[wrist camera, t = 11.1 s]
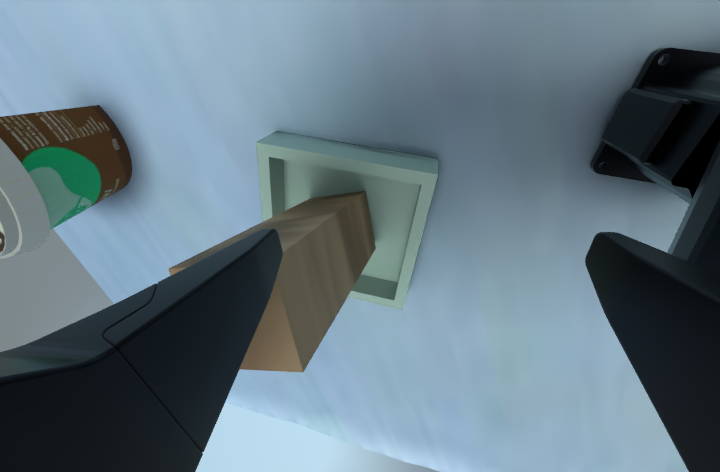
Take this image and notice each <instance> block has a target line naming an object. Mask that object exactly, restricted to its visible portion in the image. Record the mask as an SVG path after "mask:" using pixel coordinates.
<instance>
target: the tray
mask: <svg viewBox="0 0 720 472" xmlns="http://www.w3.org/2000/svg"><path fill="white" fill-rule="evenodd" d="M256 149H257V160H258V172H259V183H260V195H261V207H262V218H263V222H264V221H266V220H268V219H270V218H272V217H274V216H276V215H278V214H280V213H282V212H284V211H286V210H288V209H290V208H292V207H294V206H296V205H298V204H300V203H302V202H304V201H306V200H308V199H310V198H317V197H324V196H331V195H338V194H345V193H352V192H359V191H366V195H367V201H368V206H369V212H370V218H371V223H372V229H373V235H374V241H375V246H376V249H375V251H374V253H373V254H372V256H371V258H370V259H369V261H368V263H367V265H366V266H365V268H364V270H363V271H362V273H361V275H360V276H359V278H358V280H357V281H356V283H355V285H354V287H353V288H352V290H351V292H350V293H349V295H348V297H349V298H354V299H358V300H362V301H367V302H371V303H375V304H379V305H384V306H388V307H392V308H397V309H401V310H403V306H404V302H405V298H406V295H407V291H408V287H409V283H410V279H411V276H412V272H413V268H414V264H415V261H416V257H417V253H418V249H419V245H420V242H421V238H422V234H423V230H424V227H425V223H426V219H427V215H428V211H429V208H430V204H431V200H432V196H433V192H434V189H435V185H436V181H437V177H438V159H436V158H430V157H424V156H418V155H412V154H407V153H401V152H395V151H389V150H383V149H377V148H372V147H366V146H360V145H354V144H348V143H342V142H337V141H331V140H325V139H319V138H313V137H307V136H302V135H296V134H290V133H284V132H278V131H276V132H274V133H272V134H270V135H269V136H267V137H265V138H263V139H261V140H260V141H258V142H256Z"/></svg>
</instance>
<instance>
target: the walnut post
mask: <svg viewBox="0 0 720 472" xmlns="http://www.w3.org/2000/svg"><path fill="white" fill-rule="evenodd" d="M263 228H273V229H276V230H277V232H278V235H279V239H280V242H281V246H282V250H283V256H282V260H281V264H280V267H279V270H278V274H277V277H276V280H275V284H274V287H273V290H272V293H271V296H270V299H269V302H268V304H267V306H266V309H265V311H264V313H263V316H262V318H261V320H260V323H259V325H258V327H257V329H256V332H255V334H254V336H253V339H252V341H251V343H250V346H249V348H248V350H247V353H246V355H245V357H244V360H243V362H242V364H241V366H240V369H246V370H267V371H288V372H303V371H304V370H305V368H306V366H307V365H308V363H309V361H310V360H311V358H312V356H313V354H314V353H315V351H316V349H317V348H318V346H319V344H320V343H321V341H322V339H323V337H324V336H325V334H326V332H327V331H328V329H329V327H330V326H331V324H332V322H333V320H334V319H335V317H336V315H337V314H338V312H339V310H340V309H341V307H342V305H343V304H344V302H345V300H346V298H347V297H348V295H349V293H350V292H351V290H352V288H353V287H354V285H355V283H356V281H357V280H358V278H359V276H360V275H361V273H362V271H363V270H364V268H365V266H366V265H367V263H368V261H369V259H370V258H371V256H372V254H373V253H374V251H375V249H376V246H375V241H374V235H373V229H372V223H371V218H370V212H369V206H368V201H367V195H366V191H359V192H352V193H345V194H338V195H331V196H324V197H317V198H310V199H308V200H306V201H304V202H302V203H300V204H298V205H296V206H294V207H292V208H290V209H288V210H286V211H284V212H282V213H280V214H278V215H276V216H274V217H272V218H270V219H268V220H266V221H264V222H262V223H260V224H258V225H256V226H254V227H252V228H250V229H248V230H246V231H244V232H242V233H240V234H238V235H236V236H234V237H232V238H230V239H228V240H226V241H224V242H222V243H220V244H218V245H216V246H214V247H212V248H210V249H208V250H206V251H204V252H201V253H199V254H197V255H195V256H193V257H191V258H189V259H187V260H185V261H183V262H181V263H179V264H177V265H175V266H173V267H171V268H169V272H170V274H171V275H173V274H175V273H177V272H179V271H181V270H183V269H185V268H187V267H189V266H191V265H193V264H195V263H197V262H199V261H200V260H202V259H204V258H206V257H208V256H210V255H212V254H214V253H216V252H218V251H220V250H222V249H224V248H226V247H228V246H230V245H231V244H233V243H235V242H237V241H239V240H241V239H243V238H245V237H247V236H249V235H251V234H253V233H255V232H257V231H259V230H261V229H263Z"/></svg>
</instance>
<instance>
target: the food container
mask: <svg viewBox="0 0 720 472" xmlns="http://www.w3.org/2000/svg"><path fill="white" fill-rule="evenodd" d="M131 173H132V164H131V158H130V154H129V151H128V148H127V145H126V143H125V141H124V139H123V137H122V135H121V133H120V132H119V130H118V128H117V127H116V125H115V124H114V123H113V121H112V120H111V119H110V117H109V116H108V115H107V114H106V113H105V111H104V110H103V109H102V108H101V107H100V106H99V105H96V106H88V107H80V108H71V109H63V110H55V111H46V112H38V113H29V114H21V115H13V116H4V117H0V258H8V257H11V256H15V255H18V254H21V253H24V252H28V251H31V250H34V249H36V248H38V247H40V246H42V245H43V244H44V243H45V242H46V240H47V238H48V236H49V230H51V229H52V228H54V227H56V226H58V225H59V224H61V223H63V222H65V221H66V220H68V219H70V218H72V217H73V216H75V215H77V214H79V213H80V212H82V211H84V210H86V209H87V208H89V207H91V206H93V205H94V204H96V203H98V202H100V201H101V200H103V199H105V198H107V197H109V196H110V195H112V194H114V193H116V192H117V191H119V190H121V189H123V188H124V187H125V186H126V185H127V184H128V182H129V181H130V177H131Z"/></svg>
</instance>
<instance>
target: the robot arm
mask: <svg viewBox="0 0 720 472" xmlns="http://www.w3.org/2000/svg"><path fill="white" fill-rule="evenodd" d="M664 54H665V55H666V59H665V61H664V62H663V63H662V64H660V65H659V64H658V60H659V58H660V57H661V56H662V55H664ZM602 139H603V142H602V144H601V146H600V147H599V149H598V151H597V153H596V155H595V157H594V158H593V160H592V162H591V165H590V166H591V169H592V170H593V171H594V172H595V173H598V174H603V175H609V176H615V177H621V178H627V179H633V180H639V181H645V182H651V183H657V184H659V185H661V186H662V187H664V188H665V189H667V190H668V191H670V192H672V193H673V194H675V195H676V196H678V197H679V198H681V199H683V200H684V201H686V202H687V203H689V204H690V205H689V207H688V209H687V212H686V214H685V216H684V218H683V220H682V222H681V225H680V227H679V229H678V231H677V233H676V235H675V238H674V240H673V242H672V244H671V246H670V248H669V251H668V253H666V252H664V251H661V250H659V249H656V248H654V247H651V246H649V245H647V244H644V243H642V242H639V241H637V240H634V239H632V238H629V237H627V236H624V235H622V234H619V233H615V232H600V233H598V234H596V236H595V237H594V239H593V242H592V244H591V246H590V249H589V251H588V253H587V256H586V260H585V263H586V267H587V270H588V272H589V275H590V278H591V280H592V283H593V285H594V288H595V290H596V293H597V296H598V298H599V301H600V303H601V306H602V308H603V310H604V313H605V315H606V317H607V319H608V321H609V323H610V325H611V327H612V329H613V330H614V332H615V334H616V336H617V338H618V340H619V342H620V344H621V345H622V347H623V349H624V351H625V353H626V355H627V357H628V359H629V360H630V362H631V364H632V366H633V368H634V370H635V372H636V374H637V375H638V377H639V379H640V381H641V383H642V385H643V387H644V389H645V390H646V392H647V394H648V396H649V398H650V400H651V402H652V404H653V405H654V407H655V409H656V411H657V413H658V415H659V417H660V419H661V420H662V422H663V424H664V426H665V428H666V430H667V432H668V434H669V435H670V437H671V439H672V441H673V443H674V445H675V447H676V449H677V450H678V452H679V454H680V456H681V458H682V460H683V462H684V464H685V465H686V467H687V469H688V471H689V472H720V54H719V53H711V52H702V51H694V50H685V49H677V48H660V49H658V50H656V51H655V52H654V53H652V54H651V56H650V57H649V58H648V60H647V62H646V64H645V66H644V68H643V69H642V71H641V73H640V75H639V77H638V78H637V80H636V82H635V84H634V86H633V88H632V89H631V90H629V91H628V92H626V94H625V96H624V97H623V99H622V101H621V103H620V105H619V107H618V108H617V110H616V112H615V114H614V116H613V118H612V120H611V121H610V123H609V125H608V127H607V129H606V131H605V132H604V134H603V136H602ZM602 162H605V165H604V166H603V167H600V168H598V165H599V164H600V163H602ZM282 256H283V250H282V246H281V242H280V239H279V235H278V232H277V230H276V229H273V228H263V229H261V230H259V231H257V232H255V233H253V234H251V235H249V236H247V237H245V238H243V239H241V240H239V241H237V242H235V243H233V244H231V245H230V246H228V247H226V248H224V249H222V250H220V251H218V252H216V253H214V254H212V255H210V256H208V257H206V258H204V259H202V260H200V261H199V262H197V263H195V264H193V265H191V266H189V267H187V268H185V269H183V270H181V271H179V272H177V273H175V274H173V275H171V276H169V277H167V278H166V279H164V280H162V281H160V282H158V284H154V285H152V286H150V287H148V288H146V289H144V290H142V291H140V292H138V293H136V294H134V295H132V296H130V297H128V298H126V299H124V300H122V301H120V302H118V303H116V304H114V305H112V306H109V307H107V308H105V309H103V310H101V311H99V312H97V313H95V314H92V315H90V316H88V317H86V318H84V319H81V320H79V321H77V322H75V323H73V324H70V325H68V326H66V327H64V328H62V329H60V330H57V331H55V332H53V333H51V334H49V335H46V336H44V337H42V338H40V339H38V340H35V341H33V342H31V343H28V344H26V345H23V346H20V347H17V348H14V349H11V350H7V351H3V352H0V472H195V471H196V469H197V466H198V464H199V462H200V459H201V457H202V455H203V453H202V452H204V450H205V447H206V445H207V443H208V440H209V438H210V436H211V433H212V431H213V429H214V426H215V424H216V422H217V420H218V417H219V415H220V413H221V410H222V408H223V406H224V403H225V401H226V399H227V396H228V394H229V392H230V390H231V387H232V385H233V383H234V380H235V378H236V376H237V373H238V371H239V369H240V366H241V364H242V362H243V360H244V357H245V355H246V353H247V350H248V348H249V346H250V343H251V341H252V339H253V336H254V334H255V332H256V329H257V327H258V325H259V323H260V320H261V318H262V316H263V313H264V311H265V309H266V306H267V304H268V302H269V299H270V296H271V293H272V290H273V287H274V284H275V280H276V277H277V274H278V270H279V267H280V264H281V260H282Z"/></svg>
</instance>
